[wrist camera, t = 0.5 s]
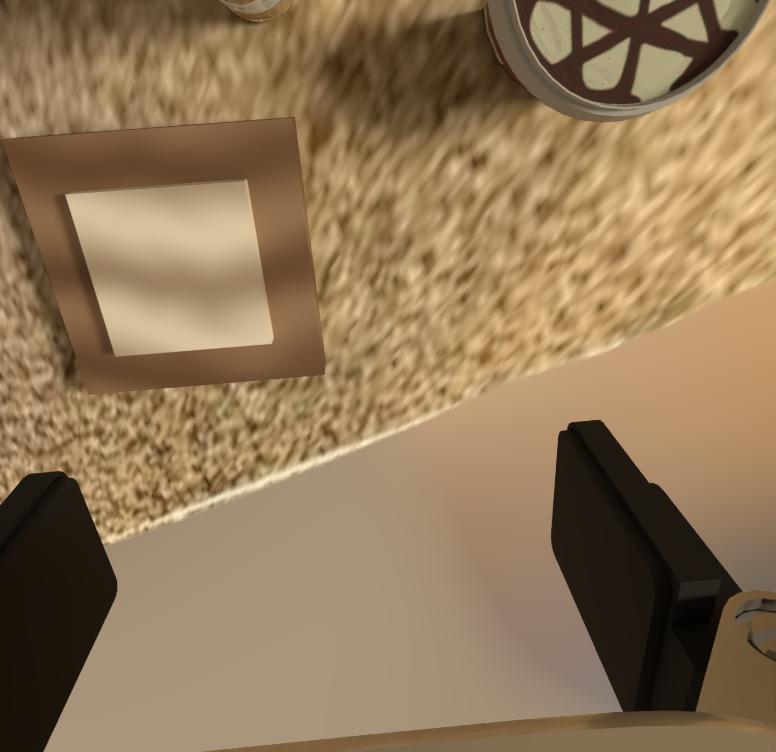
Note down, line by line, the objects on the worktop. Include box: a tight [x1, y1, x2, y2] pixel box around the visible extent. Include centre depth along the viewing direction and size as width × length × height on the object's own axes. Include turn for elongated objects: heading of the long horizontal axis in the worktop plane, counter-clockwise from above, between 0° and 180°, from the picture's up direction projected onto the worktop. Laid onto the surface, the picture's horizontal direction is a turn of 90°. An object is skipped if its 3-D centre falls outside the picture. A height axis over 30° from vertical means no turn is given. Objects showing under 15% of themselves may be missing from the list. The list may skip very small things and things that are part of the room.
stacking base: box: [2, 117, 326, 395], centre depth 35 cm, size 16×16×3 cm
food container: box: [482, 0, 770, 122], centre depth 28 cm, size 12×6×10 cm, turn 98°
